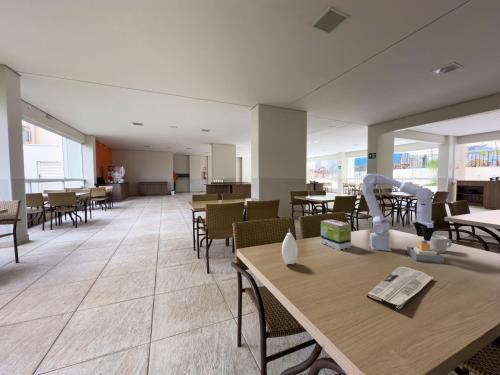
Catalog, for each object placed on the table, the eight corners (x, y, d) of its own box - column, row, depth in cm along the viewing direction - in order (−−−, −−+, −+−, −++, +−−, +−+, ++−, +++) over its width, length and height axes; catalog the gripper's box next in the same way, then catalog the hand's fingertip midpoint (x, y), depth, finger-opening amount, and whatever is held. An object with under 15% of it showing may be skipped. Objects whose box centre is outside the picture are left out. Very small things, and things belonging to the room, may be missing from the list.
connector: (421, 257, 105) (421, 242, 104) (418, 254, 108) (418, 240, 108) (430, 258, 104) (430, 242, 103) (426, 255, 107) (426, 240, 107)
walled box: (416, 261, 103) (416, 252, 102) (407, 253, 113) (407, 245, 113) (443, 263, 99) (444, 254, 99) (432, 255, 109) (432, 246, 109)
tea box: (320, 243, 133) (320, 220, 132) (331, 241, 137) (331, 218, 137) (339, 250, 119) (339, 225, 119) (351, 247, 124) (351, 223, 123)
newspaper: (398, 270, 95) (398, 262, 95) (434, 280, 85) (434, 271, 85) (364, 299, 73) (364, 290, 73) (407, 318, 63) (407, 306, 63)
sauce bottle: (298, 268, 98) (297, 230, 97) (281, 267, 100) (280, 230, 99) (297, 261, 106) (297, 226, 105) (282, 260, 107) (281, 226, 106)
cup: (445, 248, 118) (445, 234, 118) (457, 254, 110) (457, 239, 110) (424, 248, 119) (424, 234, 119) (435, 253, 111) (435, 239, 111)
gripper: (441, 215, 97) (440, 243, 98) (426, 210, 111) (426, 235, 112) (423, 214, 100) (422, 242, 100) (411, 209, 113) (410, 234, 114)
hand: (423, 238), depth 106 cm, fingers open, 7 cm apart
